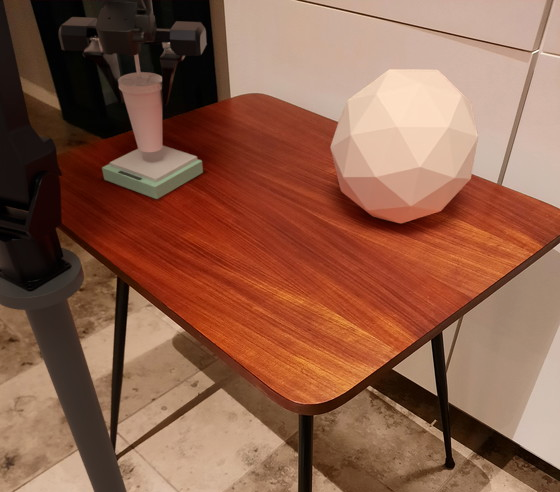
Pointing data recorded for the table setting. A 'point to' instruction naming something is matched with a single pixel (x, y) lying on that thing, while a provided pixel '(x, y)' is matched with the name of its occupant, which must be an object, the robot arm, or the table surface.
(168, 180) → the scale
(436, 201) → the ball
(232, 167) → the table surface
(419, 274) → the table surface
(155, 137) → the smoothie
